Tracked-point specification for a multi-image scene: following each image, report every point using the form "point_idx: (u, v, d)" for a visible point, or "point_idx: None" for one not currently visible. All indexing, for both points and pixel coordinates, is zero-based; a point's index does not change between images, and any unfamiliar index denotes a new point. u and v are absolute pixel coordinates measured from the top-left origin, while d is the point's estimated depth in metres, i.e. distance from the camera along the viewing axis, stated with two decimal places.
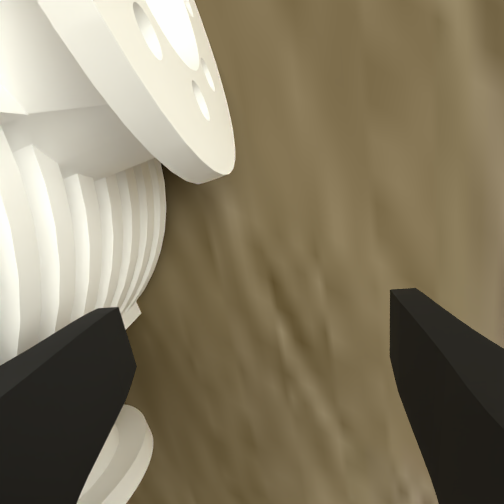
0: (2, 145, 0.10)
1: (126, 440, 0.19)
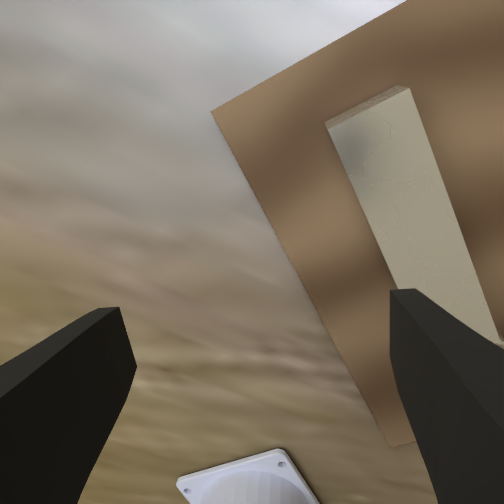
0: None
1: None
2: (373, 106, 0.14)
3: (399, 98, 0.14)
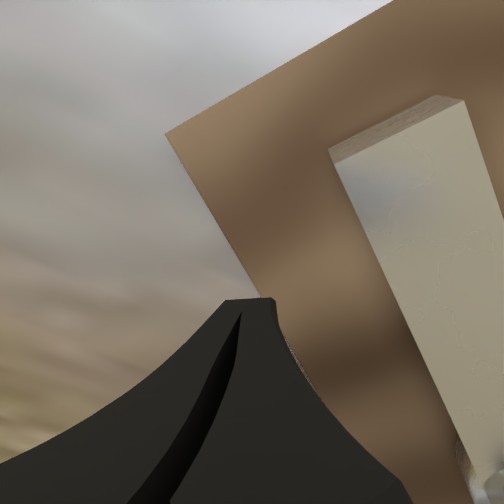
0: None
1: None
2: (405, 129, 0.09)
3: (447, 117, 0.09)
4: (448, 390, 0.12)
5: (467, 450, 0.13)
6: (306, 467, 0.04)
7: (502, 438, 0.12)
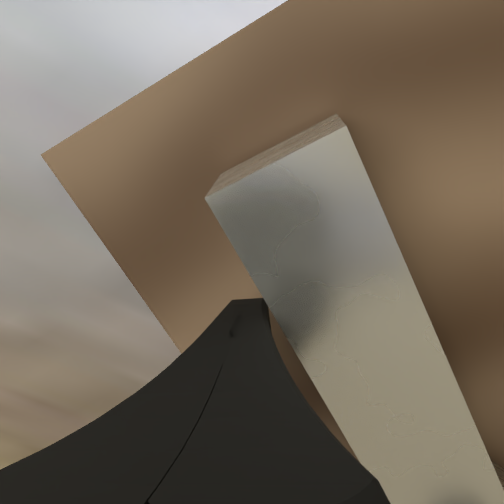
0: None
1: None
2: (282, 158, 0.08)
3: (328, 144, 0.08)
4: (362, 447, 0.11)
5: None
6: (287, 466, 0.04)
7: (426, 498, 0.11)
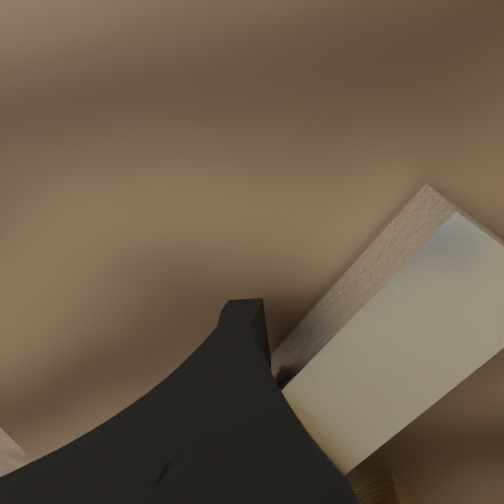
0: None
1: None
2: None
3: None
4: None
5: None
6: (259, 466, 0.04)
7: None
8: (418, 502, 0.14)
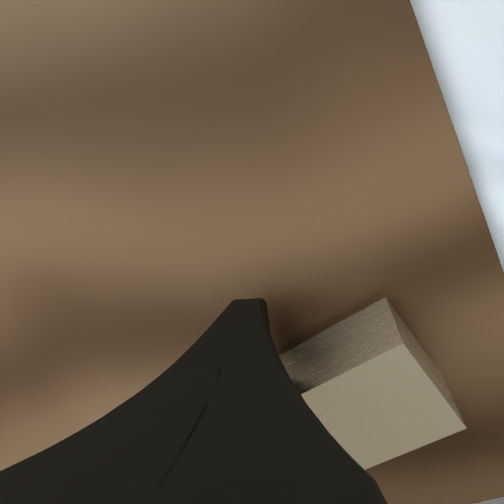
0: None
1: None
2: (440, 393, 0.10)
3: (452, 421, 0.10)
4: None
5: None
6: (284, 466, 0.04)
7: None
8: None
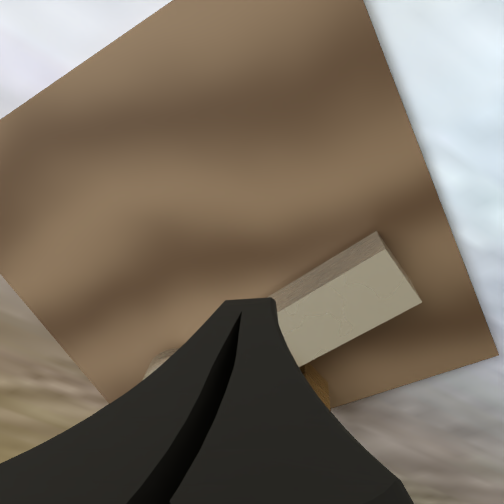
0: None
1: None
2: (406, 280, 0.17)
3: (414, 297, 0.17)
4: None
5: None
6: (306, 466, 0.04)
7: None
8: (323, 379, 0.22)
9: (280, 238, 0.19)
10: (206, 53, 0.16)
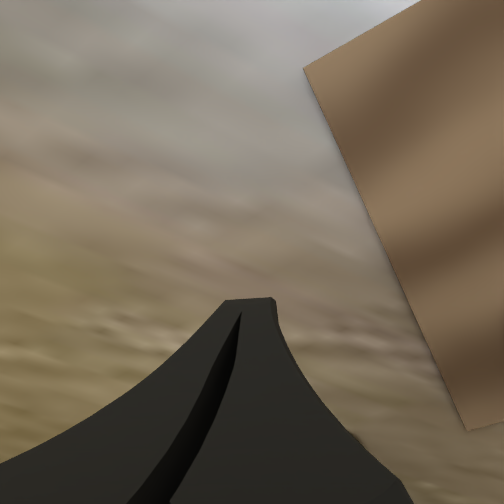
0: None
1: None
2: None
3: None
4: None
5: None
6: (307, 466, 0.04)
7: None
8: None
9: None
10: None
